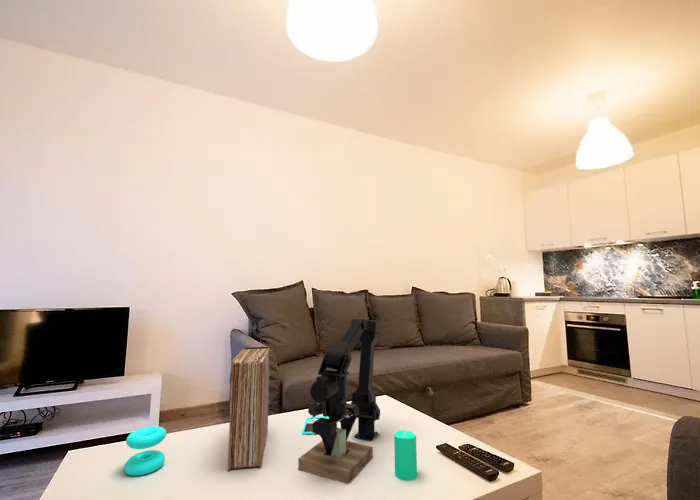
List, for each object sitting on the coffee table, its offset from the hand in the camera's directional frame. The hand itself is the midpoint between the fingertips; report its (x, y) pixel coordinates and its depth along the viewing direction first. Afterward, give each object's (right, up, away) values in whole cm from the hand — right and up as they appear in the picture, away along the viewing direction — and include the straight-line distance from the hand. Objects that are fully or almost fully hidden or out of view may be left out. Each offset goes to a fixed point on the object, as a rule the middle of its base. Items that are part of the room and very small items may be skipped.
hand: (336, 448), depth 99 cm
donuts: (-55, -4, -3) cm, 55 cm away
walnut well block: (0, -4, -1) cm, 4 cm away
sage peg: (0, -4, 0) cm, 4 cm away
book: (-28, -5, +8) cm, 30 cm away
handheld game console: (-8, -8, +27) cm, 30 cm away
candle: (+19, -3, -7) cm, 21 cm away
